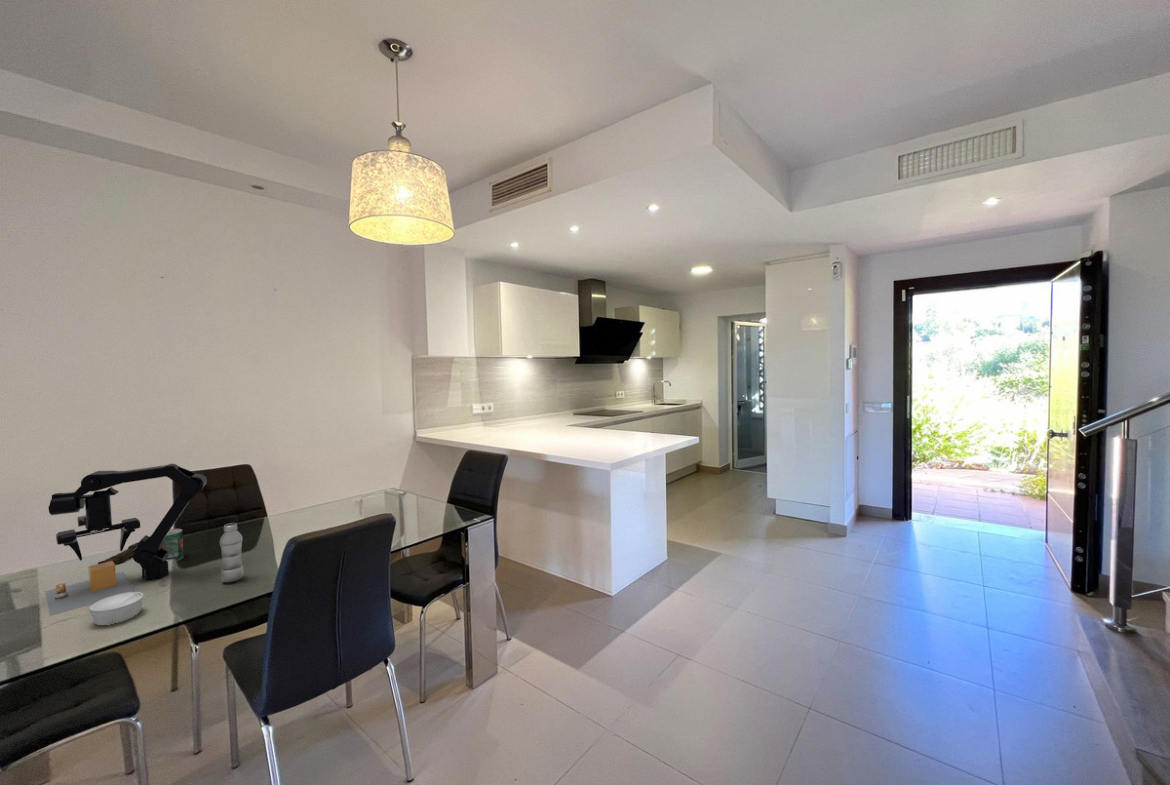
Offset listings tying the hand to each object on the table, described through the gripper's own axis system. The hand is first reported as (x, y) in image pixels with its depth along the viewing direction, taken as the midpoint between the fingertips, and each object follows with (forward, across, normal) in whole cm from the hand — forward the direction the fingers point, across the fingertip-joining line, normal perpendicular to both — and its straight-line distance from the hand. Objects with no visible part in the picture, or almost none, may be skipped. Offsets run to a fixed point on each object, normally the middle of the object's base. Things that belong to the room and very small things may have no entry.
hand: (101, 555), depth 150 cm
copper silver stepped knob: (+10, +9, 0) cm, 14 cm away
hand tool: (+12, -8, -29) cm, 33 cm away
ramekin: (+12, 0, +28) cm, 30 cm away
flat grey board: (+12, +3, +2) cm, 13 cm away
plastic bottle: (+12, -29, +26) cm, 41 cm away
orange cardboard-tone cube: (+10, 0, 0) cm, 11 cm away
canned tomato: (+12, -19, -15) cm, 27 cm away
